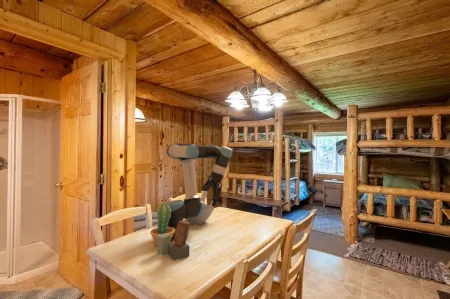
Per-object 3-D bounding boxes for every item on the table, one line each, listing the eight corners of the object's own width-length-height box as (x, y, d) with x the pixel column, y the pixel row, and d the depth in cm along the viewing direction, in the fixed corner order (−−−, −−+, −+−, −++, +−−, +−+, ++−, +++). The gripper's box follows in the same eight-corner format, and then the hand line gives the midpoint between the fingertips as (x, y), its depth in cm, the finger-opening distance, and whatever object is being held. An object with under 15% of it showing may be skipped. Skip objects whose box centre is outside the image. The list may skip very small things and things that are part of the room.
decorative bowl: (176, 219, 196) (176, 205, 196) (206, 216, 207) (206, 202, 207) (184, 229, 172) (184, 213, 172) (218, 225, 183) (218, 209, 183)
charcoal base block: (167, 254, 131) (168, 243, 131) (182, 250, 136) (182, 240, 136) (173, 260, 124) (173, 249, 124) (189, 256, 129) (189, 245, 129)
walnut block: (178, 240, 134) (183, 220, 134) (185, 244, 132) (190, 223, 132) (172, 242, 129) (178, 221, 130) (179, 245, 127) (185, 224, 128)
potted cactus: (179, 240, 152) (180, 201, 152) (167, 249, 137) (168, 207, 137) (158, 237, 156) (158, 200, 156) (144, 246, 141) (145, 205, 141)
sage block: (156, 253, 132) (157, 235, 132) (164, 250, 136) (164, 233, 136) (162, 256, 129) (162, 237, 129) (169, 253, 133) (169, 235, 133)
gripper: (233, 181, 128) (220, 216, 129) (215, 167, 149) (204, 198, 151) (222, 178, 124) (208, 214, 126) (204, 164, 146) (193, 196, 147)
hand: (206, 205), depth 138 cm, fingers open, 13 cm apart
